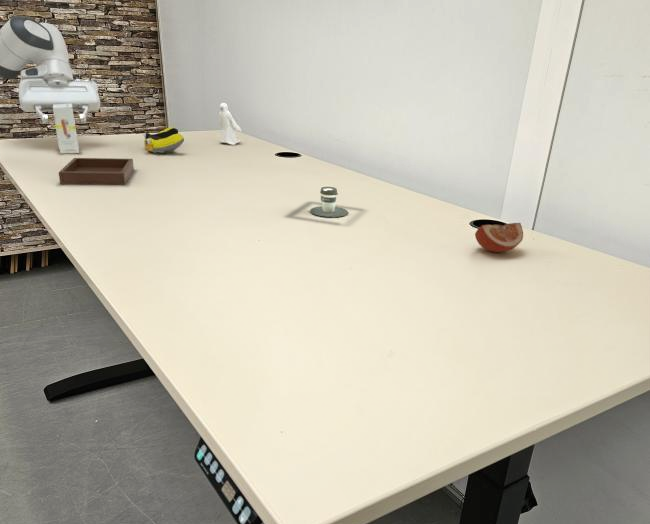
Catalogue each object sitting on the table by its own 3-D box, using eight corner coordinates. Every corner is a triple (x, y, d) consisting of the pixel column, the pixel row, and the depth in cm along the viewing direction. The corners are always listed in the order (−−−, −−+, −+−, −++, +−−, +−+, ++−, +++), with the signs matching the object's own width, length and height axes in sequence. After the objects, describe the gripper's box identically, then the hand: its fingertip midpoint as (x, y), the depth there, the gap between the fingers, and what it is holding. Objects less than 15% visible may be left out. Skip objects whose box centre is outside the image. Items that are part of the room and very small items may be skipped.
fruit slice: (504, 243, 107) (509, 216, 105) (529, 255, 101) (535, 227, 99) (465, 247, 104) (470, 219, 102) (489, 260, 98) (494, 231, 96)
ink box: (58, 148, 164) (51, 102, 159) (77, 147, 166) (71, 102, 160) (59, 154, 157) (52, 106, 152) (79, 153, 159) (73, 106, 153)
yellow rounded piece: (178, 145, 176) (143, 145, 173) (177, 126, 173) (141, 126, 170) (185, 155, 163) (148, 156, 160) (184, 134, 161) (146, 135, 158)
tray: (60, 184, 129) (58, 172, 128) (75, 168, 143) (73, 157, 142) (125, 184, 131) (123, 173, 130) (133, 169, 145) (132, 158, 144)
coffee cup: (364, 209, 123) (366, 185, 121) (346, 224, 113) (348, 198, 110) (310, 201, 126) (311, 178, 124) (288, 215, 116) (289, 190, 114)
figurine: (212, 142, 182) (211, 101, 177) (231, 140, 188) (230, 100, 183) (230, 146, 179) (229, 104, 173) (248, 143, 184) (248, 102, 179)
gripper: (96, 87, 169) (105, 128, 166) (16, 87, 160) (24, 130, 157) (96, 71, 163) (105, 114, 160) (13, 70, 155) (22, 115, 152)
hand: (64, 122), depth 158 cm, fingers open, 8 cm apart
